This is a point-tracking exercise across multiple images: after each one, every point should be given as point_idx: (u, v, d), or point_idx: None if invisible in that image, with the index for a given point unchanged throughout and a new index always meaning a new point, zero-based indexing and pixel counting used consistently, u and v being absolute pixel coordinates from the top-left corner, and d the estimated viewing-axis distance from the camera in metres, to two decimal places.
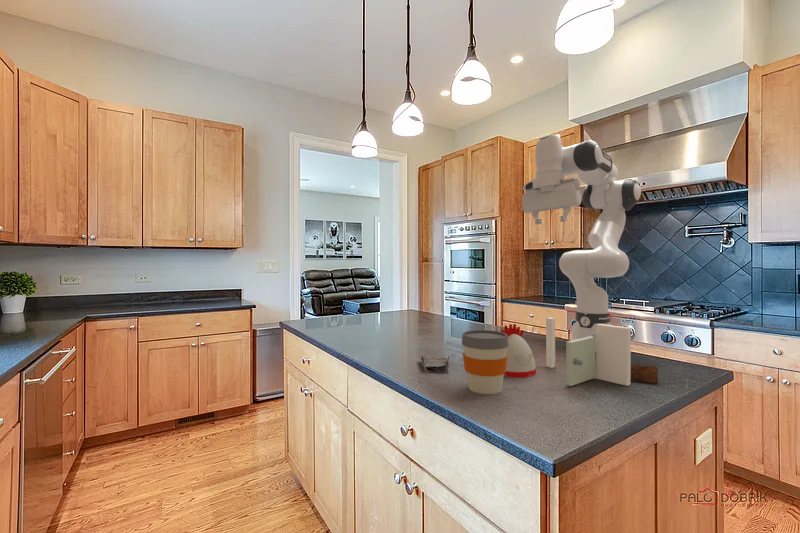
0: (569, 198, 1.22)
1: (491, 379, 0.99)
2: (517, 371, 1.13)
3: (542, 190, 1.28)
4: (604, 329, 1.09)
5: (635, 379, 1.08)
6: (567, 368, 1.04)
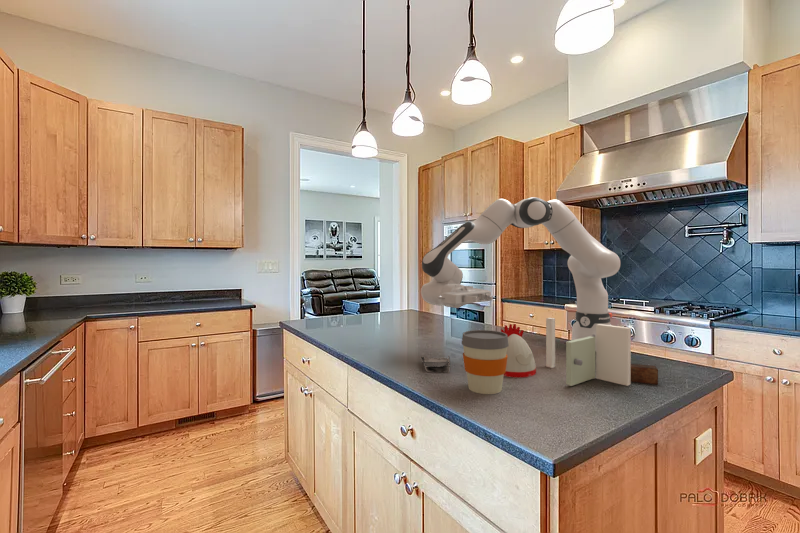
0: None
1: (491, 379, 0.99)
2: (517, 371, 1.13)
3: None
4: (604, 329, 1.09)
5: (635, 380, 1.08)
6: (567, 368, 1.04)
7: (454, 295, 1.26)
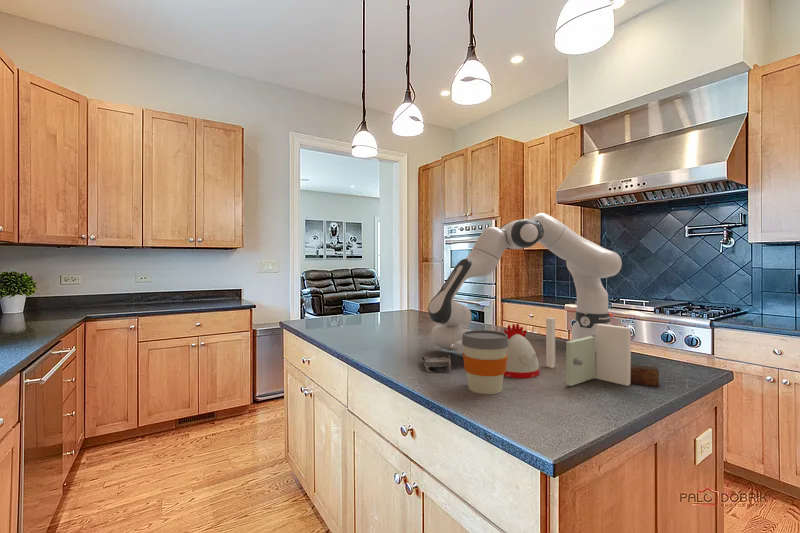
0: None
1: (491, 379, 0.99)
2: (521, 372, 1.12)
3: None
4: (604, 329, 1.09)
5: (635, 381, 1.07)
6: (567, 368, 1.04)
7: None
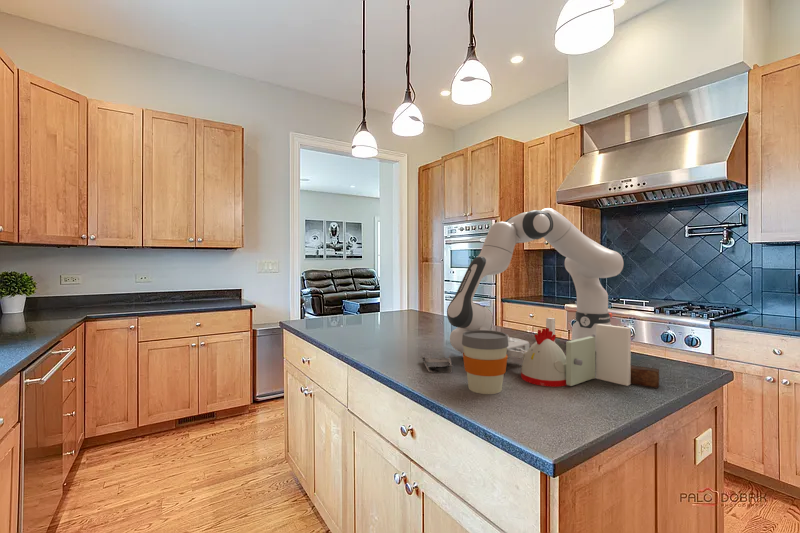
0: None
1: (491, 379, 0.99)
2: (556, 380, 1.04)
3: None
4: (604, 329, 1.09)
5: (635, 382, 1.06)
6: (567, 368, 1.04)
7: None
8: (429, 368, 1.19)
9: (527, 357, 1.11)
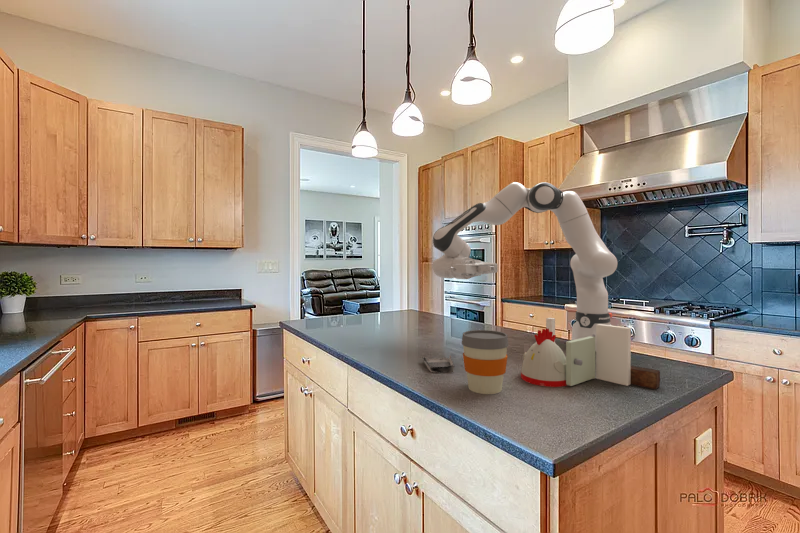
0: None
1: (491, 379, 0.99)
2: (556, 380, 1.04)
3: None
4: (604, 329, 1.09)
5: (633, 382, 1.06)
6: (567, 368, 1.04)
7: (464, 265, 1.38)
8: (431, 368, 1.19)
9: (527, 357, 1.11)
